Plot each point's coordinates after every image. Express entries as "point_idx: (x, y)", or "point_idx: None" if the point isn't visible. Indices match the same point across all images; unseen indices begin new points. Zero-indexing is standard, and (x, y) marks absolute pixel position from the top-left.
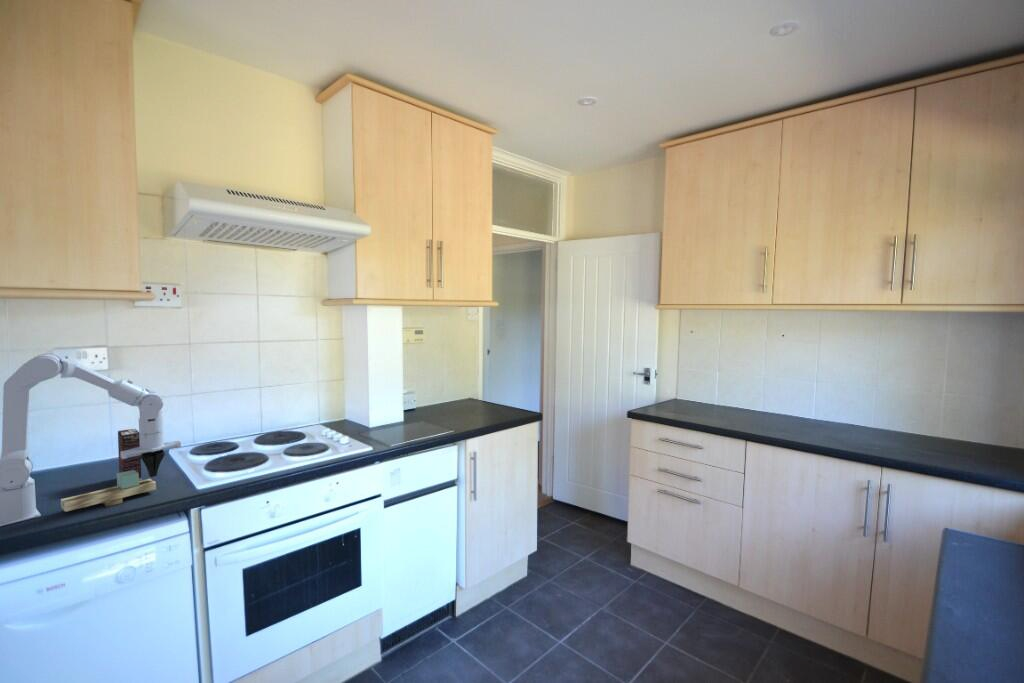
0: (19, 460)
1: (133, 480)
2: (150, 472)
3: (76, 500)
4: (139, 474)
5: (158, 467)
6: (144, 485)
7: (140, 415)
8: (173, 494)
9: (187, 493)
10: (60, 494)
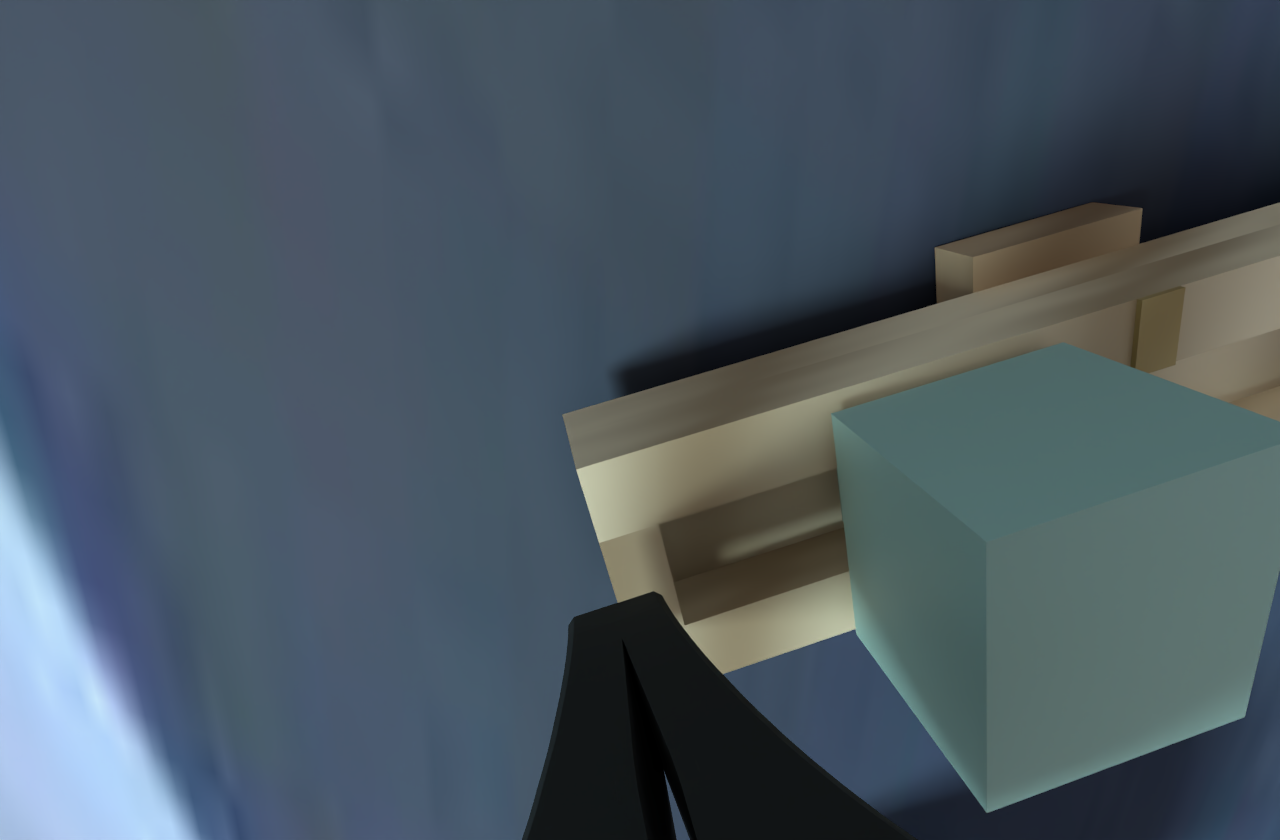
0: None
1: (983, 432)
2: (700, 656)
3: None
4: None
5: (546, 761)
6: (744, 414)
7: None
8: (301, 156)
9: (28, 29)
10: (1193, 785)
